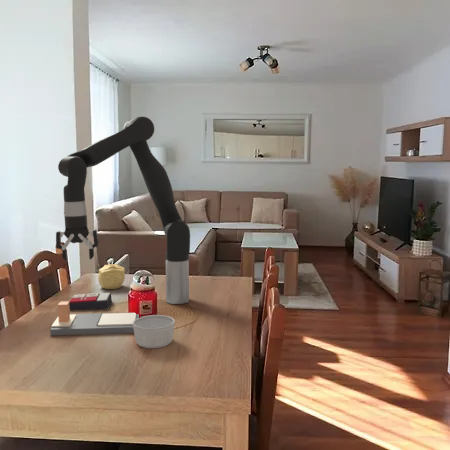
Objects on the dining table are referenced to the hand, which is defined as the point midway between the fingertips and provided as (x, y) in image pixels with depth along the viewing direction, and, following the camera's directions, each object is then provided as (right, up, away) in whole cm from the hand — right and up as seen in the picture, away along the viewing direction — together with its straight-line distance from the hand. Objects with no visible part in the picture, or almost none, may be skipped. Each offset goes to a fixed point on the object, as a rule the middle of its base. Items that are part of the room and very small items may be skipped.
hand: (78, 259), depth 181 cm
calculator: (-1, -20, +20) cm, 28 cm away
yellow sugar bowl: (+1, -16, +47) cm, 50 cm away
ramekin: (+29, -25, -19) cm, 43 cm away
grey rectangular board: (+8, -23, -4) cm, 24 cm away
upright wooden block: (-3, -21, -5) cm, 22 cm away
